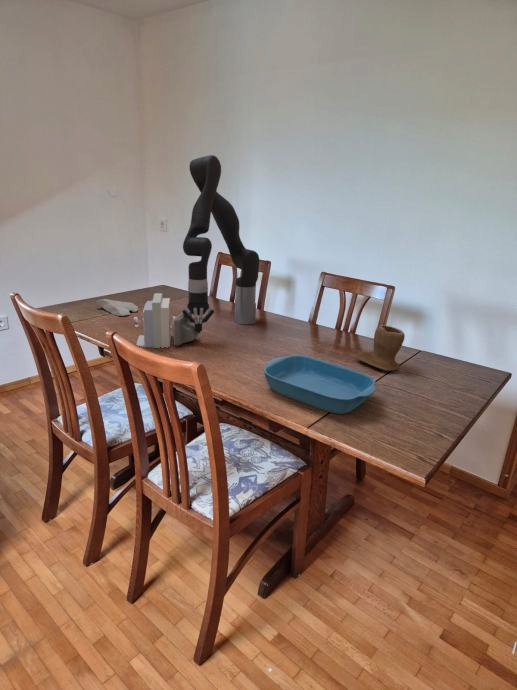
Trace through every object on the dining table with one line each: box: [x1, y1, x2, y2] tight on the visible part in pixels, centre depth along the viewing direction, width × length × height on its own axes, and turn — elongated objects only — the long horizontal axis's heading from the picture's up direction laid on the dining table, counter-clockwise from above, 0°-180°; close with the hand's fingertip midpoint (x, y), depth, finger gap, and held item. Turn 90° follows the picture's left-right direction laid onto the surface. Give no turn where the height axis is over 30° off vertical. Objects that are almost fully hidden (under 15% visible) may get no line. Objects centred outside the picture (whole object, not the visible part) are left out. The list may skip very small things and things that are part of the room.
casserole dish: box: [263, 354, 377, 415], centre depth 141 cm, size 37×22×7 cm, turn 51°
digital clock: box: [172, 310, 201, 347], centre depth 179 cm, size 16×9×11 cm, turn 158°
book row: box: [135, 292, 172, 349], centre depth 176 cm, size 13×14×18 cm
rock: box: [95, 298, 139, 317], centre depth 216 cm, size 21×5×15 cm
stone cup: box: [354, 324, 406, 372], centre depth 163 cm, size 15×12×15 cm
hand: (198, 332), depth 179 cm, fingers closed
